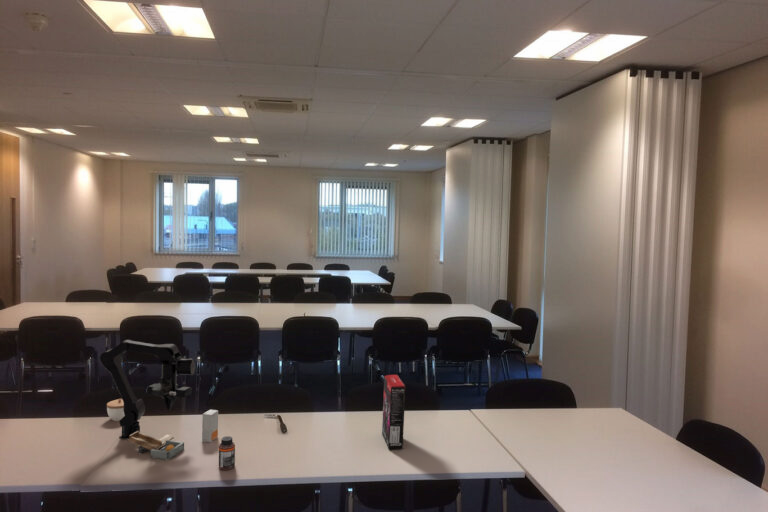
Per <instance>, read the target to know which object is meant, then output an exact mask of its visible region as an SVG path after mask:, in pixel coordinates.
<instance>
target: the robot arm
mask: <svg viewBox="0 0 768 512" xmlns="http://www.w3.org/2000/svg"><path fill="white" fill-rule="evenodd" d="M126 352H133V353H138V354H139V353H140V354H146V355H151V356H155V357H156V358H158V359H159V361H157V363H156V365H159V366H160V365H161V377H159V382H157V383H153V384H151V385H149V386H147V387H146V394H148V395H149V394H150V395H152V394H153V396H154V397H160V398H161V399H162V400H163V402H164V405H165V408H166V410H167V411H171V409H172V407H173V405H174V403H175V401H176V400H177V398H187V397H188V396H190V395H193V389H192V387H190V386H182V387H180V388H178V387H179V384H178V383H177V379H178V378H179V375H180V376H181V375H182V376H185V375H187V376H188V375H189V376H193V375H195V371H196V364H195V361H194V358H184V356H183V354H182V353H181V352H180V351H179V347H178V346H177V345H176V344H174V343H164V344H154V343H148V342H147V343H146V342H143V341H135V340H131V339H125V340H123V341H121V342H120V343H119V344H118V345H116V346H115V347H113V348H110V349H108V350H106V351H104V352H102V353H101V354H100V356H99V362H100V363H101V365H102V366H103V368H104V369H106V371H108V372H109V373H110V375H111V377H112V380H113V381H114V384H115V386H116V388H117V391H118V392H119V395H120V397H121V398H120V399H122V400H123V402H124V414H125V416H124V417H123V418H122V419H121V420H120V421H118V424H119V426H120V427H121V435H120V436H119V437H118V438H119V439H123V440H128V439H129V435H131V434H133V433H135V432H136V431H139V432H140V433H141V425H140V421H139V420H140V419H141V418H142V416H143V415H144V414H145V412H146V405H145V403H144V400H143V398H140V399H139V398H138V397H137V396H135V393H134V391H133V389H132V387H131V385H130V381H129V380H128V378H127V375H126V373H125V371H124V369H123V358H122V355H123V354H124V353H126Z"/></svg>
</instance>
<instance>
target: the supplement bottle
mask: <svg viewBox="0 0 768 512" xmlns="http://www.w3.org/2000/svg"><path fill="white" fill-rule="evenodd" d="M220 439H221V442H220V444H219V445H218V469H219V470H222V471H228V470H232V469H234V468H235V466H236V464H235V463H236V444H235V442H233V437H232V436H227V435H226V436H223V437H221V438H220Z"/></svg>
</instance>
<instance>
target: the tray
mask: <svg viewBox="0 0 768 512" xmlns="http://www.w3.org/2000/svg"><path fill="white" fill-rule="evenodd" d="M168 445H173V446H174V448H173V449H171V450H170V451H166V447H167V446H168ZM184 450H185V442H184V441H177V440H166V443H165V446H163V447H162V448H160V449H156V450H154V449H152V450H150V458H152V459H159V460H166V461H170V460H171V459H173V458H174V457H176V456H177V455H179V454H180V453H181V452H183V451H184Z"/></svg>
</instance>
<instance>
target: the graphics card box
mask: <svg viewBox="0 0 768 512" xmlns="http://www.w3.org/2000/svg"><path fill="white" fill-rule="evenodd" d="M383 379H384V381H383V399H382V401H383V403H382V404H383V405H382V424H381V425H382V427H381V436H382V437H383V439H384V442H385V444H386V447H387V449H388V450H397V449H399V450H400V449H403V448H404V430H405V429H404V426H405V406H406V405H405V404H406V403H405V402H406V399H405V398H406V385H405V383H404V382H403V380H402V379H401V378H400V377H399V375H398V374H387V375H384V378H383Z"/></svg>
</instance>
